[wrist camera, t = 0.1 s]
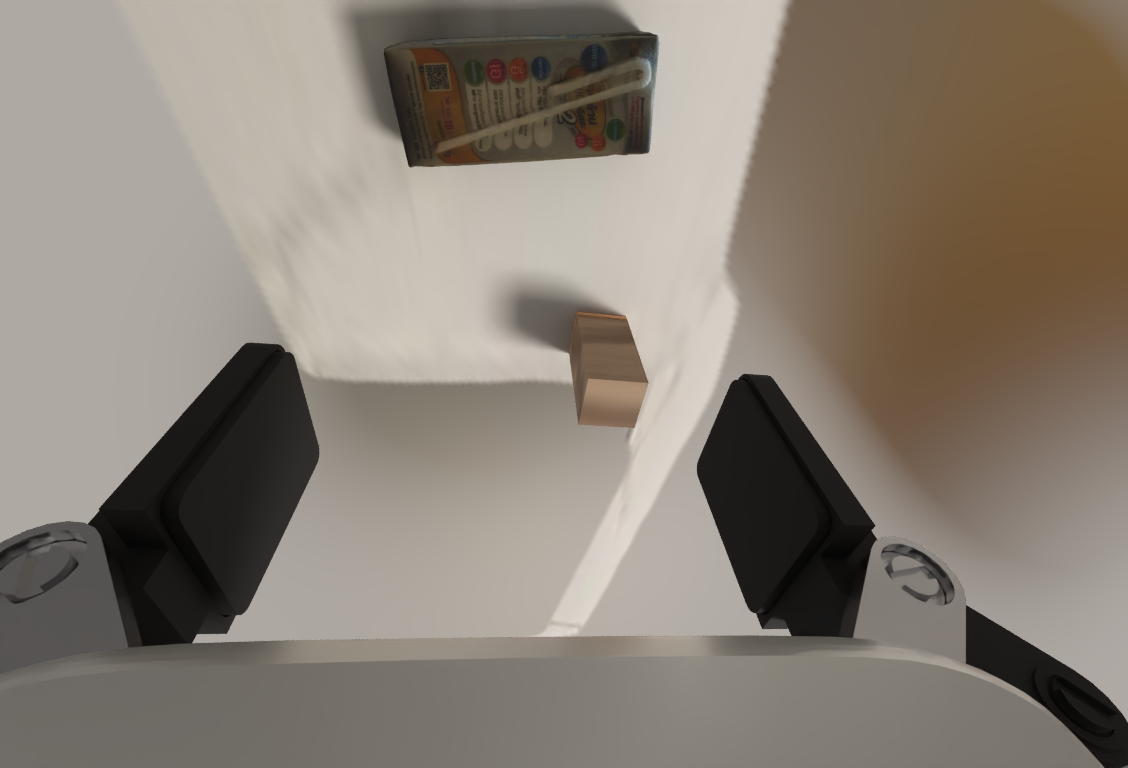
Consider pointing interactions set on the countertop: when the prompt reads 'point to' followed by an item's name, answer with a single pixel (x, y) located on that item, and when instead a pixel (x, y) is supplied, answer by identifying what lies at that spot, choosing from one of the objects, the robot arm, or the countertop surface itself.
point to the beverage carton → (523, 97)
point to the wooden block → (606, 371)
